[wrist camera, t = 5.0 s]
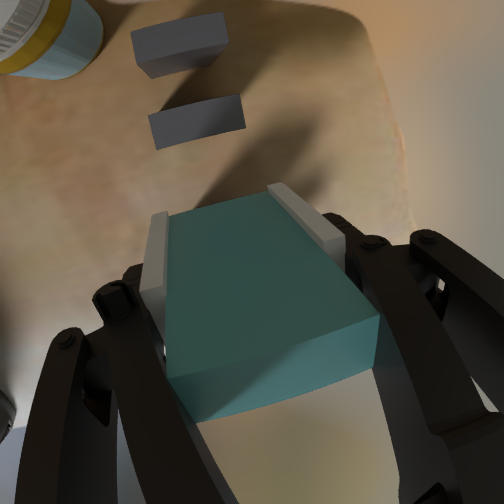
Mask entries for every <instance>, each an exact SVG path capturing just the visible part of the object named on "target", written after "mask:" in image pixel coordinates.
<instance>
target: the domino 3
mask: <svg viewBox="0 0 504 504" xmlns="http://www.w3.org/2000/svg"><path fill="white" fill-rule="evenodd" d="M379 319H380V313H379V312H378V311H377V310H376V309H375V308H374V306H373V305H372V304H371V303H370V302H369V301H368V299H367V298H366V297H365V296H364V295H363V294H362V293H361V291H360V290H359V289H358V288H357V287H356V286H355V285H354V283H353V282H352V281H351V280H350V279H349V278H348V277H347V276H346V274H345V273H344V272H343V271H342V270H341V269H340V268H339V267H338V265H337V264H336V263H335V262H334V261H333V260H332V259H331V258H330V257H329V256H328V254H327V253H326V252H324V251H323V250H322V249H321V248H320V247H319V246H318V245H317V243H316V242H315V241H314V240H313V239H312V238H311V237H310V236H309V235H308V234H307V233H306V232H305V230H304V229H303V228H302V227H301V226H300V225H299V224H298V223H297V222H296V221H295V220H294V219H293V218H292V217H291V216H290V215H289V213H288V212H287V211H286V210H285V209H284V208H283V207H282V206H281V205H280V204H279V203H278V202H277V201H276V200H275V199H274V198H273V197H272V196H271V195H270V194H269V193H268V191H264V192H260V193H256V194H252V195H248V196H244V197H240V198H236V199H232V200H228V201H224V202H220V203H216V204H212V205H208V206H205V207H201V208H197V209H193V210H190V211H186V212H182V213H179V214H175V215H172V216H169V232H168V258H167V296H166V303H165V334H166V376H167V379H168V381H169V382H170V384H171V386H172V387H173V389H174V391H175V392H176V394H177V396H178V397H179V399H180V400H181V402H182V404H183V405H184V407H185V408H186V410H187V411H188V413H189V415H190V416H191V418H192V419H193V421H194V422H195V423H199V422H204V421H208V420H213V419H217V418H221V417H225V416H230V415H234V414H238V413H241V412H245V411H249V410H253V409H256V408H260V407H263V406H267V405H270V404H273V403H277V402H280V401H283V400H286V399H289V398H293V397H296V396H299V395H302V394H304V393H307V392H310V391H313V390H316V389H319V388H322V387H325V386H327V385H330V384H333V383H335V382H338V381H340V380H343V379H345V378H348V377H351V376H353V375H356V374H358V373H360V372H363V371H365V370H368V369H370V368H372V367H373V364H374V358H375V351H376V344H377V336H378V328H379Z"/></svg>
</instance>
